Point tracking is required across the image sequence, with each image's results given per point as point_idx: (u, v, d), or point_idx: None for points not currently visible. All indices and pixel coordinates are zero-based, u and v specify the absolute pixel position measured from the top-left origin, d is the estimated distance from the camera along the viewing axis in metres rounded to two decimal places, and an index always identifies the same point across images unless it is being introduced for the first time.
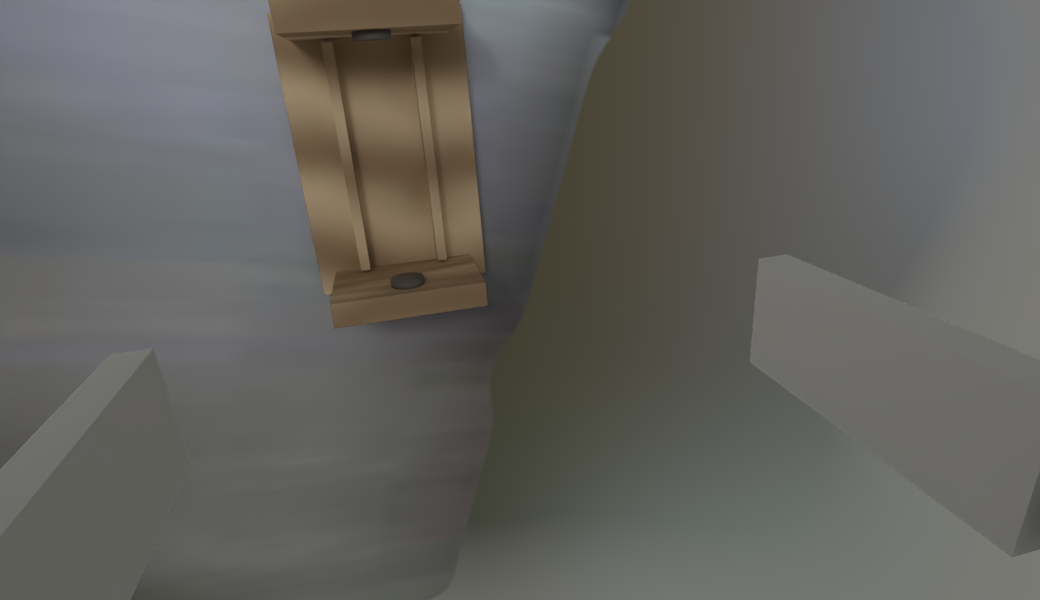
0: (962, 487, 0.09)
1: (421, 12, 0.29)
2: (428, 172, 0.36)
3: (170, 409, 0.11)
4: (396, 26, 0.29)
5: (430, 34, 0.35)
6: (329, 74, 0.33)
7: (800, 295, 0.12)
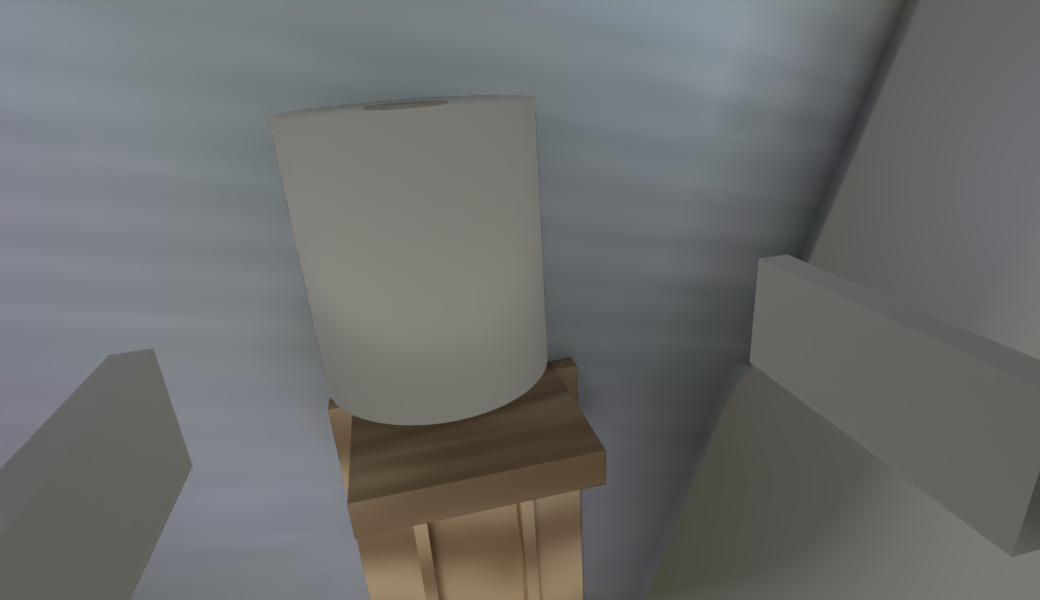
0: (962, 487, 0.09)
1: (554, 482, 0.21)
2: (526, 557, 0.28)
3: (170, 409, 0.11)
4: (519, 500, 0.21)
5: None
6: None
7: (800, 295, 0.12)
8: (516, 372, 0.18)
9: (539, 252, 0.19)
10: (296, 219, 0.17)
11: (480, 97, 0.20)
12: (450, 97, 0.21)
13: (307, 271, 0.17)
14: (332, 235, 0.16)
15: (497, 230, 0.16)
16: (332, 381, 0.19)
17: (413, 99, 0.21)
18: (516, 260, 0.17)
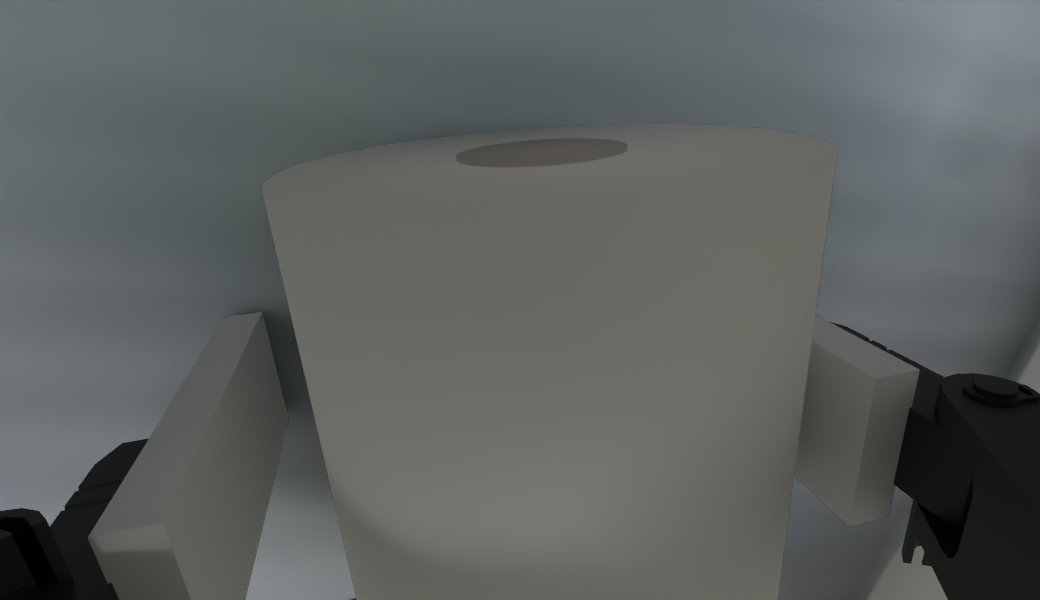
0: (813, 464, 0.10)
1: None
2: None
3: (273, 367, 0.13)
4: None
5: None
6: None
7: None
8: None
9: None
10: (379, 442, 0.07)
11: (613, 129, 0.11)
12: (532, 130, 0.12)
13: (397, 547, 0.07)
14: (514, 488, 0.06)
15: (803, 395, 0.08)
16: None
17: (463, 136, 0.12)
18: None
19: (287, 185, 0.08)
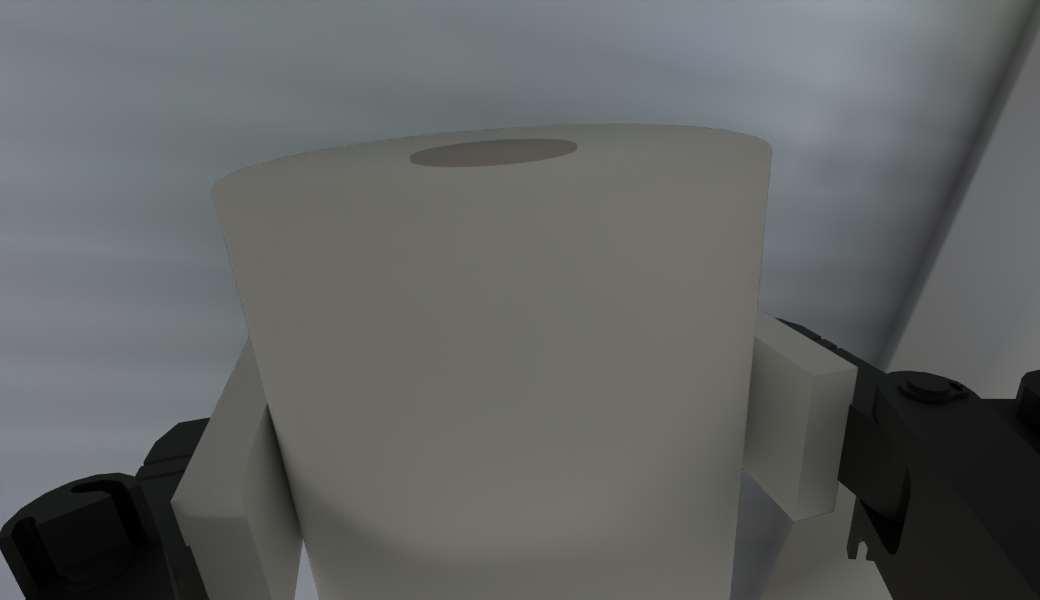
0: (762, 460, 0.10)
1: None
2: None
3: None
4: None
5: None
6: None
7: None
8: None
9: None
10: (298, 422, 0.07)
11: (591, 130, 0.11)
12: (517, 129, 0.12)
13: (322, 522, 0.08)
14: (408, 474, 0.07)
15: (737, 406, 0.08)
16: None
17: (450, 134, 0.12)
18: (743, 445, 0.09)
19: (242, 179, 0.08)
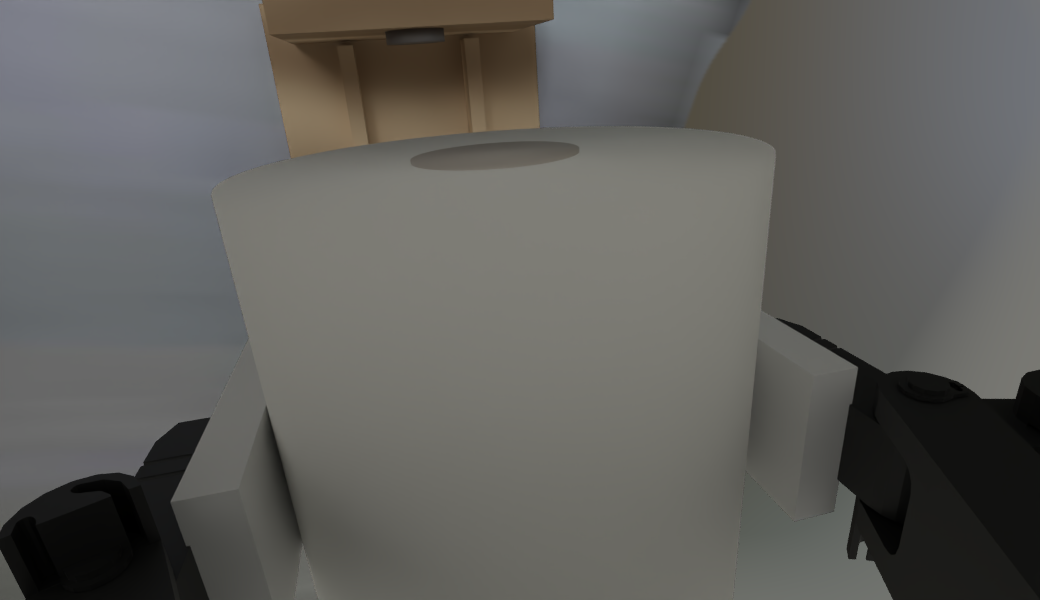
0: (762, 460, 0.10)
1: (495, 2, 0.19)
2: None
3: None
4: (456, 23, 0.19)
5: (489, 34, 0.25)
6: (348, 91, 0.23)
7: None
8: None
9: None
10: (298, 429, 0.07)
11: (592, 132, 0.11)
12: (518, 131, 0.12)
13: (322, 528, 0.08)
14: (409, 481, 0.07)
15: (741, 411, 0.08)
16: None
17: (451, 136, 0.12)
18: (746, 450, 0.09)
19: (241, 183, 0.08)
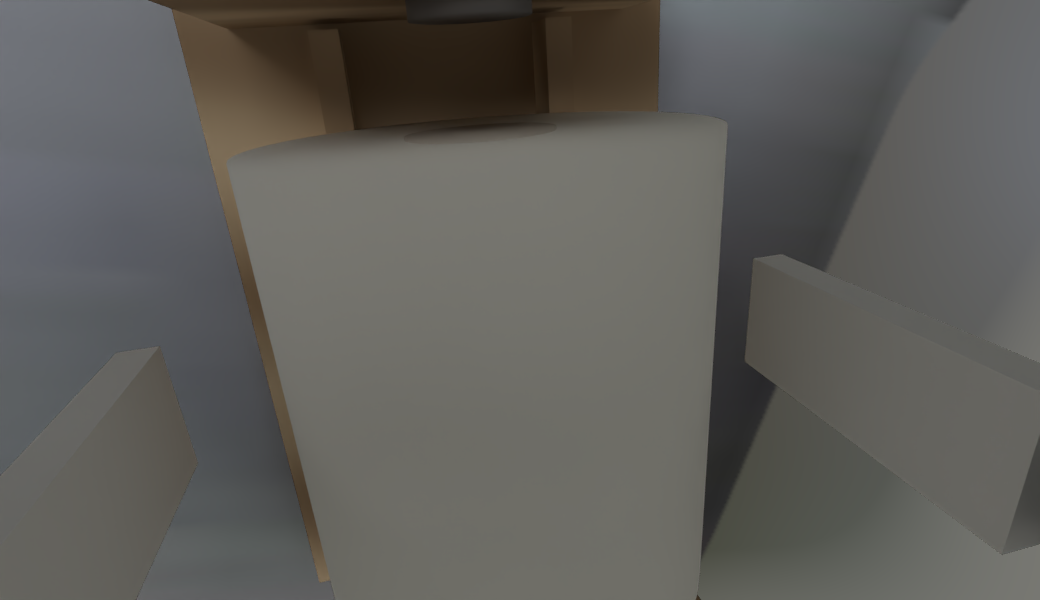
0: (953, 485, 0.09)
1: None
2: None
3: (176, 406, 0.12)
4: None
5: (583, 12, 0.14)
6: (330, 117, 0.12)
7: (794, 294, 0.12)
8: (693, 578, 0.11)
9: None
10: (302, 369, 0.08)
11: (573, 116, 0.12)
12: (507, 117, 0.13)
13: (323, 462, 0.09)
14: (398, 411, 0.08)
15: (699, 360, 0.09)
16: None
17: (444, 121, 0.13)
18: (707, 400, 0.10)
19: (252, 156, 0.09)
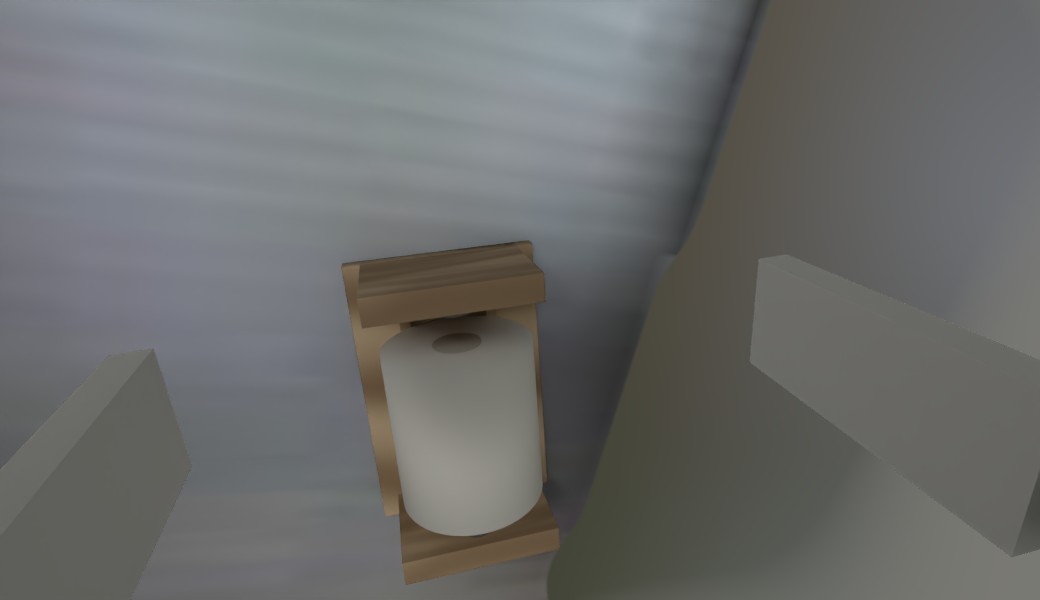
0: (962, 487, 0.09)
1: (506, 296, 0.28)
2: None
3: (170, 409, 0.11)
4: (481, 309, 0.28)
5: None
6: (402, 323, 0.33)
7: (800, 295, 0.12)
8: (531, 493, 0.31)
9: None
10: (404, 422, 0.29)
11: (492, 324, 0.33)
12: (469, 318, 0.34)
13: (408, 450, 0.29)
14: (432, 434, 0.28)
15: (521, 418, 0.29)
16: (419, 512, 0.30)
17: (445, 320, 0.34)
18: (530, 430, 0.30)
19: (385, 355, 0.30)
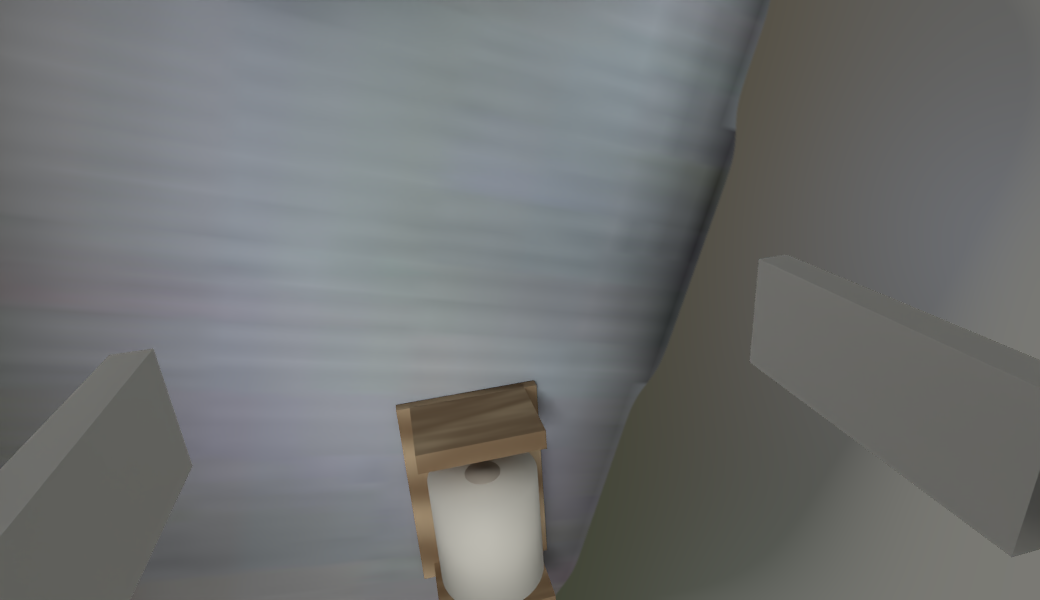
0: (962, 487, 0.09)
1: (519, 446, 0.40)
2: None
3: (170, 408, 0.11)
4: (501, 456, 0.40)
5: None
6: None
7: (800, 295, 0.12)
8: (535, 577, 0.43)
9: (540, 522, 0.44)
10: (446, 535, 0.40)
11: None
12: None
13: (448, 552, 0.41)
14: (467, 545, 0.40)
15: (529, 530, 0.41)
16: (455, 592, 0.42)
17: None
18: (535, 535, 0.42)
19: (432, 484, 0.41)
